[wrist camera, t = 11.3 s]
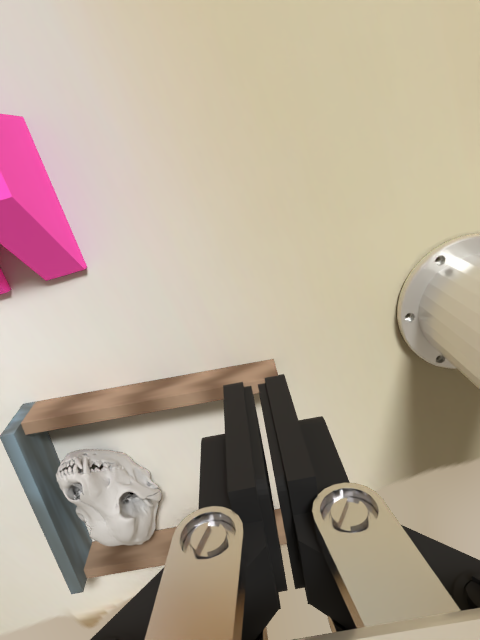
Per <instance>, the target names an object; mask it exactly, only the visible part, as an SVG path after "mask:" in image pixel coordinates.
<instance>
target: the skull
mask: <svg viewBox="0 0 480 640" xmlns="http://www.w3.org/2000/svg"><path fill="white" fill-rule="evenodd" d="M93 464H95V465H96V466H98V467H100V466H101V465H102V466H103V468H102V469H101V470H100V469H98V468H97V467H95V469H94V470H93V469H90V468H91V467H92V465H93ZM68 472H69V473H68ZM65 474H66V475H65ZM150 477H151V474H150V472H149V471H148V470H147V469H144V468H142V467H140V466H139V465H137V464H135V463H134V461H133V460H132V459H131V457H129V456H128V455H127V454H125V453H122V452H115V451H110V450H94V449H83V450H77V451H74V452H71V453H69V454H68V455H66V457H65V458H64V459H63V461H62V462H61V463H60V466H59V467H58V470H57V473H56V478H57V482H58V484H59V485H60V488H61V490H62V491H63V493H64V495H65V497H66V498H67V499H68V501H70V502H71V503H74V504H75V505H77V507H76V514H77V515H78V517H79V518H80V519H81V520H82V521H84V522H85V523H86V524H87V525H88V526H89V527H90V528H91V531H90V535H89V536H90V538H92V539H94V540H96V541H97V542H99V543H101V544H103V545H105V546H119V545H128V546H129V545H136V544H137V545H140V544H143V542H145V541H147V540H149V539H150V538H151V536H152V535H153V533H154V530H155V528H156V523H155V517H156V512H157V508H158V502H159V501H160V500H161V497H162V494H161V490H160V489H158V485H157V484H155V483H154V482H153V481H152V480H151V479H150ZM129 492H132V493H134V494H130V493H129Z"/></svg>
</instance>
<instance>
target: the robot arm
mask: <svg viewBox="0 0 480 640" xmlns="http://www.w3.org/2000/svg"><path fill="white" fill-rule="evenodd" d="M437 257H438V259H437V260H436V258H437ZM407 314H408V315H407ZM406 315H407V316H406ZM397 320H398V324H399V329H400V332H401V334H402V336H403V339H404V341H405V342H406V343H407V345H408V346H409V347H410V348H411V350H413V351H414V352H415V353H416V354H417V355H418V356H419V357H420V358H422V359H423V360H425V361H426V362H428V363H430V364H432V365H435V366H438V367H443V368H449V369H458V370H459V371H460V372H461V373H462V374H463V375H464V376H465V377H467V378H468V379H469V380H470V381H471V382H472V383H473V384H474V385H475V386H476V387H477V388H478V389H479V390H480V234H471V235H465V236H460V237H457V238H455V239H452V240H449V241H447V242H445V243H443V244H441V245H440V246H438V247H436V248H435V249H433V250H432V251H431V252H429V253H428V254H427V255H426V256H425V257H423V258H422V259H421V260H420V261H419V263H418V264H417V265H416V266H415V267H414V268H413V269H412V271H411V273H410V274H409V276H408V277H407V279H406V281H405V283H404V285H403V288H402V290H401V293H400V296H399V301H398V306H397ZM264 379H265V383H263V384H258V389H259V394H260V400H261V405H262V411H263V416H264V422H265V427H266V433H267V438H268V444H269V449H270V455H271V460H272V465H273V471H274V476H275V482H276V487H277V493H278V498H279V503H280V509H281V514H282V520H283V525H284V530H285V536H286V541H287V547H288V552H289V557H290V563H291V568H292V574H293V579H294V585H295V589H298V588H304V587H305V591H306V596H307V601H308V604H311V605H312V606H314V607H315V608H317V609H318V610H320V611H321V612H323V613H324V614H326V615H327V616H328V620H329V624H330V628H331V631H332V633H329V634H323V635H317V636H311V637H306V638H300V639H294V640H480V560H478V559H476V558H473V557H471V556H469V555H467V554H465V553H462V552H460V551H458V550H456V549H453V548H451V547H449V546H447V545H444V544H442V543H440V542H438V541H436V540H433V539H431V538H429V537H427V536H424V535H422V534H420V533H418V532H416V531H413V530H411V529H409V528H407V527H405V526H402V525H400V523H399V522H398V520H397V519H396V517H395V516H394V515H393V513H392V512H391V511H390V509H389V508H388V506H387V505H386V504H385V502H384V500H383V499H382V498H381V497H380V496H379V495H378V494H377V493H376V492H375V491H374V490H372V489H370V488H368V487H367V486H364V485H360V484H357V483H350V482H349V480H348V477H347V475H346V472H345V470H344V467H343V465H342V462H341V460H340V458H339V455H338V453H337V450H336V448H335V445H334V443H333V440H332V438H331V435H330V433H329V430H328V428H327V425H326V423H325V420H324V418H323V417H322V416H321V417H315V418H310V419H304V420H299V421H298V418H297V415H296V412H295V408H294V405H293V402H292V399H291V395H290V392H289V389H288V386H287V382H286V379H285V376H284V374H283V375H277V376H272V377H266V378H264ZM223 395H224V419H225V434H221V435H216V436H210V437H205V438H202V441H201V463H200V490H199V510H197V511H195V512H192V513H191V514H190V515H188V516H187V517H186V518H184V519H183V520H182V522H181V523H180V524H179V525H178V526H177V528H176V530H175V532H174V535H173V537H172V541H171V545H170V548H169V552H168V556H167V559H166V563H165V567H164V568H163V569H162V570H161V571H160V572H159V573H158V574H157V575H156V576H155V577H154V578H153V579H152V580H151V581H150V582H149V583H148V584H147V585H146V586H145V587H144V588H143V589H142V590H141V591H140V592H139V593H138V594H137V595H136V596H135V597H133V598H132V599H131V600H130V601H129V602H128V603H127V604H126V605H125V606H124V607H123V608H122V609H121V610H120V611H119V612H118V613H117V614H116V615H115V616H114V617H113V618H112V619H111V620H110V621H109V622H108V623H107V624H106V625H105V626H104V627H103V628H102V629H101V630H100V631H99V632H98V633H97V634H96V635H95V636H94V637H93V638H92V639H91V640H268V636H267V628H266V626H267V624H268V623H269V621H270V620H271V619H272V617H273V616H274V615H275V613H276V612H277V611H278V609H281V608H280V601H279V595H278V592H281V591H287V585H286V579H285V572H284V567H283V560H282V554H281V548H280V542H279V536H278V530H277V524H276V518H275V512H274V506H273V500H272V494H271V488H270V482H269V476H268V471H267V465H266V460H265V455H264V449H263V444H262V439H261V434H260V428H259V423H258V418H257V412H256V407H255V402H254V397H253V391H252V386H246V387H244V385H243V382H239V383H233V384H228V385H223Z"/></svg>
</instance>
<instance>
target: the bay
mask: <svg viewBox="0 0 480 640" xmlns="http://www.w3.org/2000/svg"><path fill="white" fill-rule="evenodd" d="M277 375H278V373H277V370H276V366H275V363H274V359H271V360H265V361H260V362H254V363H249V364H243V365H238V366H232V367H227V368H221V369H215V370H210V371H204V372H199V373H193V374H188V375H182V376H176V377H171V378H165V379H160V380H154V381H149V382H143V383H138V384H132V385H126V386H121V387H115V388H110V389H104V390H99V391H93V392H88V393H82V394H76V395H71V396H65V397H60V398H54V399H49V400H43V401H38V402H32V403H26V404H23V405H22V406H21V408H20V409H19V410H18V412H17V413H16V415H15V416H14V417H13V419H12V420H11V421H10V423H9V424H8V426H7V427H6V428H5V430H4V431H3V433H2V434H1V435H0V439H1V441H2V443H3V445H4V447H5V450H6V452H7V454H8V456H9V458H10V460H11V463H12V465H13V467H14V469H15V471H16V474H17V476H18V478H19V480H20V482H21V485H22V487H23V489H24V491H25V493H26V496H27V498H28V500H29V502H30V504H31V507H32V509H33V511H34V513H35V515H36V517H37V520H38V522H39V524H40V526H41V528H42V531H43V533H44V535H45V537H46V539H47V542H48V544H49V546H50V548H51V550H52V553H53V555H54V557H55V559H56V561H57V564H58V566H59V568H60V570H61V572H62V575H63V577H64V579H65V581H66V583H67V585H68V588H69V590H70V592H71V594H75V593H80V592H83V591H84V587H85V584H86V580H87V578H92V577H98V576H104V575H109V574H115V573H121V572H127V571H132V570H138V569H144V568H149V567H155V566H161V565H165V563H166V559H167V556H168V552H169V548H170V545H171V541H172V537H173V535H174V532H175V530H176V528H177V527H174V528H168V529H162V530H157V531H154V533H153V535H152V536H151V538H150V539H149V540H147V541H145V542H143V544H140V545H137V544H136V545H129V546H128V545H119V546H105V545H103V544H101V543H99V542H97V541H94V542H92V540H91V538H90V536H89V533H88V530H87V528H86V525H85V523H84V521H82V520H81V519H80V518H79V517H78V515H77V514H76V507H77V505H75V504H74V503H71V502H70V501H68V499H67V498H66V497H65V495H64V493H63V491H62V490H61V488H60V485H59V484H58V482H57V478H56V473H57V470H58V467H59V466H60V461H59V459H58V456H57V454H56V451H55V449H54V446H53V444H52V441H51V439H50V436H49V434H48V431H50V430H55V429H61V428H66V427H72V426H77V425H83V424H89V423H94V422H100V421H105V420H111V419H117V418H122V417H128V416H133V415H139V414H145V413H150V412H156V411H161V410H167V409H172V408H178V407H184V406H189V405H195V404H200V403H206V402H212V401H217V400H223V399H224V395H223V385H228V384H233V383H239V382H243V385H244V387H246V386H252V391H253V394H256V393H259V389H258V384H263V383H265V379H264V378H266V377H272V376H277ZM274 512H275V518H276V524H277V530H278V536H279V542H280V545H281V544H287V541H286V536H285V530H284V525H283V520H282V514H281V509H276V510H274Z"/></svg>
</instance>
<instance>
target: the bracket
mask: <svg viewBox="0 0 480 640" xmlns="http://www.w3.org/2000/svg"><path fill="white" fill-rule="evenodd" d="M0 244H1V245H2V246H4V247H5V248H6V249H7V250H9V251H10V252H11V253H12V254H14V255H15V256H16V257H17V258H18V259H20V260H21V261H22V262H23V263H25V264H26V265H27V266H28V267H30V268H31V269H32V270H33V271H34V272H36V273H37V274H38V275H39V276H41V277H42V278H43V279H44V280H46V281H47V280H51V279H54V278H57V277H61V276H64V275H68V274H71V273H74V272H78V271H81V270H85V269H86V268H87V266H86V263H85V261H84V259H83V256H82V254H81V252H80V249H79V247H78V245H77V242H76V240H75V238H74V235H73V233H72V231H71V228H70V226H69V224H68V221H67V219H66V217H65V214H64V212H63V210H62V207H61V205H60V203H59V200H58V198H57V195H56V193H55V191H54V188H53V186H52V184H51V181H50V179H49V177H48V174H47V172H46V170H45V167H44V165H43V163H42V160H41V158H40V156H39V153H38V151H37V149H36V146H35V144H34V142H33V139H32V137H31V135H30V132H29V130H28V128H27V125H26V123H25V121H24V118H23V117H20V116H13V115H6V114H0ZM10 290H11V288H10V286H9V284H8V282H7V280H6V278H5V276H4V274H3V272H2V270H1V268H0V294H3V293H6V292H8V291H10Z"/></svg>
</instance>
